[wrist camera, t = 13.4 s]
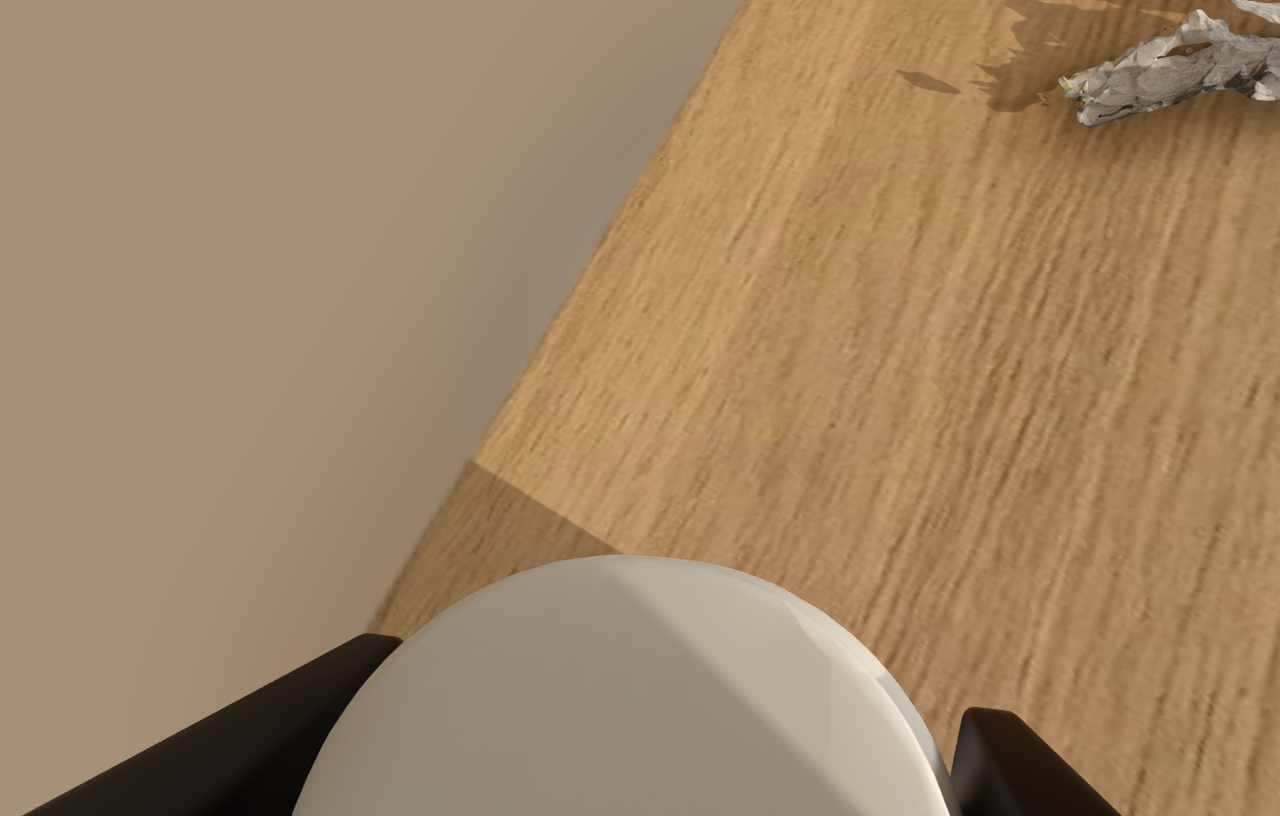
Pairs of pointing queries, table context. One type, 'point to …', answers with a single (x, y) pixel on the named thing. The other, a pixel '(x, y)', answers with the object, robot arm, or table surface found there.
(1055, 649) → the table surface
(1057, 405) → the table surface
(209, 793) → the robot arm
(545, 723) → the pill bottle
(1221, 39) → the driftwood
